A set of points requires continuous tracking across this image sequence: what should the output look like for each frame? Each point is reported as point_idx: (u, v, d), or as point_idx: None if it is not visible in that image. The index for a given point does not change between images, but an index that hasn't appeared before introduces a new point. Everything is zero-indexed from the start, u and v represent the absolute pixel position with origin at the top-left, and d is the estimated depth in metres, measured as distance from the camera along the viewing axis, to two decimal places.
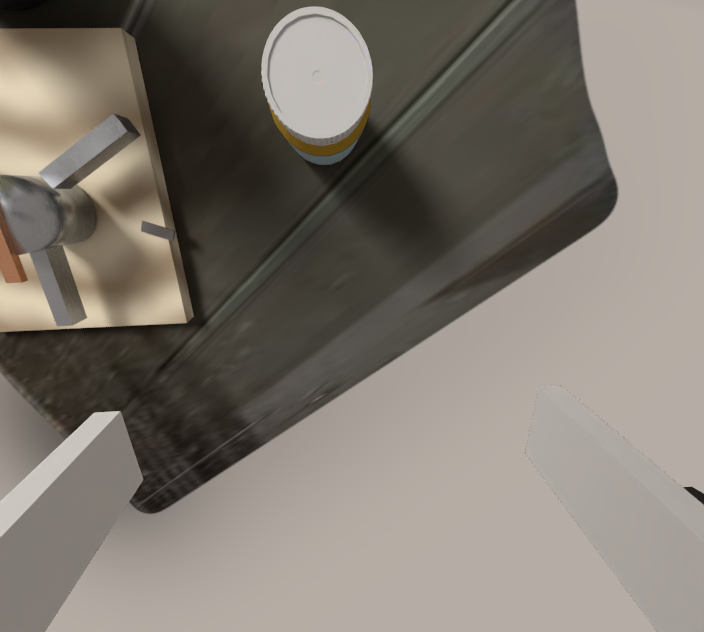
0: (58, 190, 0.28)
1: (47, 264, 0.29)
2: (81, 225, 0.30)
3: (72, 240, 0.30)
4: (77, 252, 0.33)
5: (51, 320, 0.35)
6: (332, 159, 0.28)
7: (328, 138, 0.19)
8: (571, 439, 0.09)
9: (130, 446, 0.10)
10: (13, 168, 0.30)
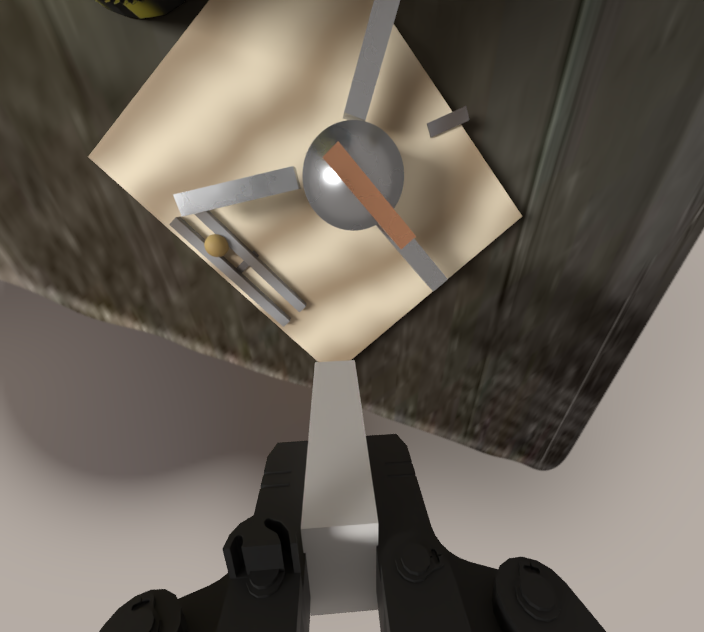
0: None
1: None
2: None
3: None
4: None
5: (388, 314, 0.30)
6: None
7: None
8: None
9: None
10: None
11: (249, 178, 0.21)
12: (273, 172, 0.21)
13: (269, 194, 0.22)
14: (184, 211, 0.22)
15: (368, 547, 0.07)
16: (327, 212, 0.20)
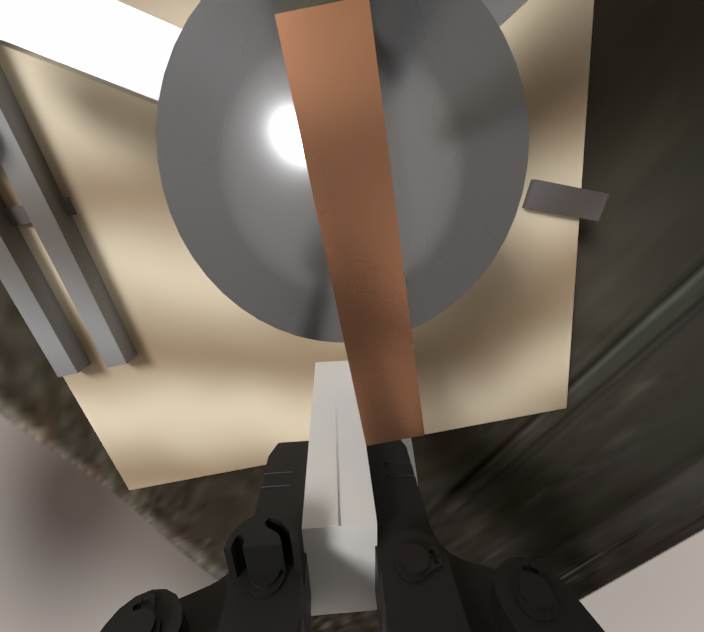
0: None
1: None
2: None
3: None
4: None
5: None
6: None
7: None
8: None
9: None
10: None
11: None
12: (134, 15, 0.06)
13: (93, 71, 0.07)
14: None
15: (367, 547, 0.07)
16: (208, 228, 0.06)
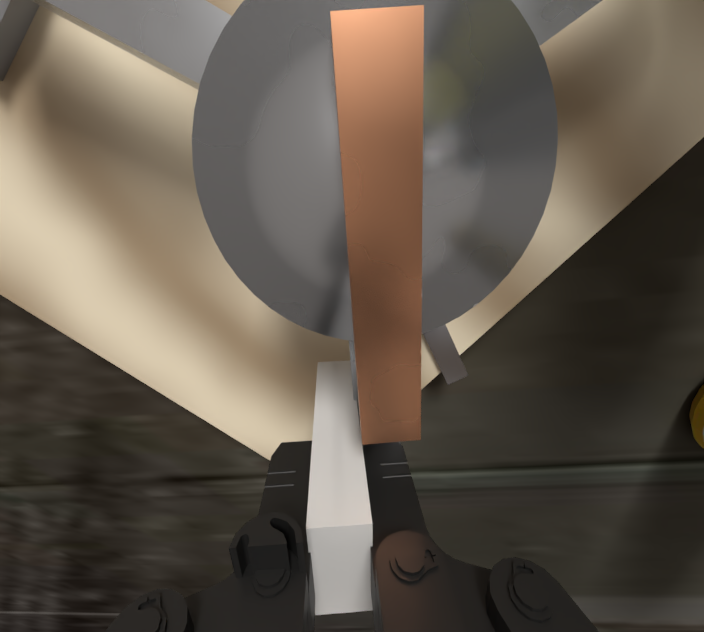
0: None
1: None
2: None
3: None
4: None
5: (60, 305, 0.13)
6: None
7: None
8: None
9: None
10: None
11: None
12: None
13: (130, 42, 0.07)
14: None
15: (362, 548, 0.07)
16: (233, 212, 0.06)
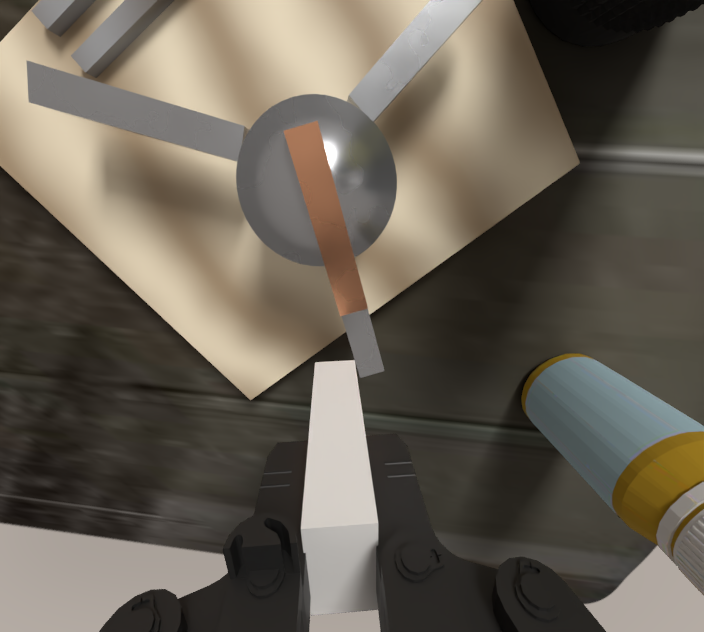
0: None
1: None
2: None
3: None
4: (247, 224, 0.19)
5: (93, 230, 0.19)
6: (575, 469, 0.23)
7: None
8: None
9: None
10: (318, 81, 0.17)
11: (169, 106, 0.13)
12: (211, 118, 0.13)
13: (191, 146, 0.14)
14: (37, 97, 0.13)
15: (368, 547, 0.07)
16: (258, 215, 0.13)
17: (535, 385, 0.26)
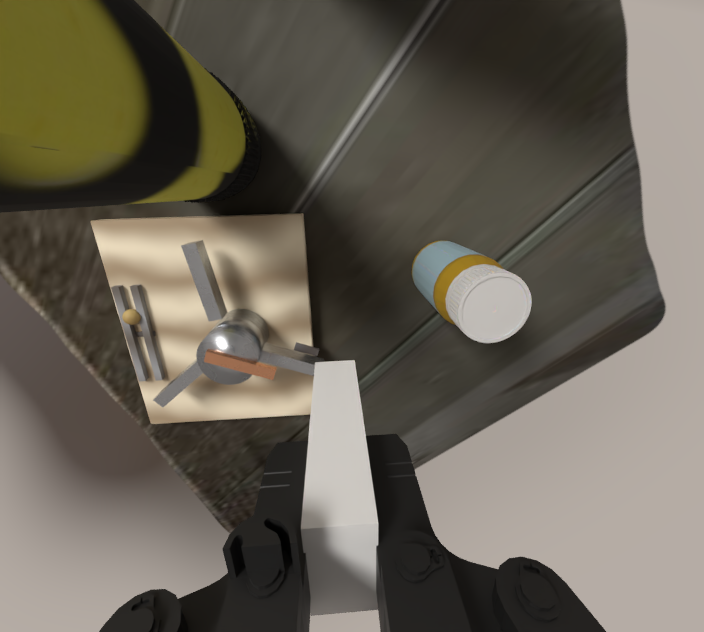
0: (225, 319, 0.36)
1: (273, 355, 0.36)
2: (255, 321, 0.37)
3: (263, 333, 0.37)
4: None
5: (211, 413, 0.44)
6: None
7: (494, 341, 0.28)
8: None
9: None
10: None
11: (183, 374, 0.36)
12: (193, 365, 0.36)
13: (197, 376, 0.37)
14: (162, 404, 0.38)
15: (368, 547, 0.07)
16: (225, 380, 0.34)
17: (416, 286, 0.40)
